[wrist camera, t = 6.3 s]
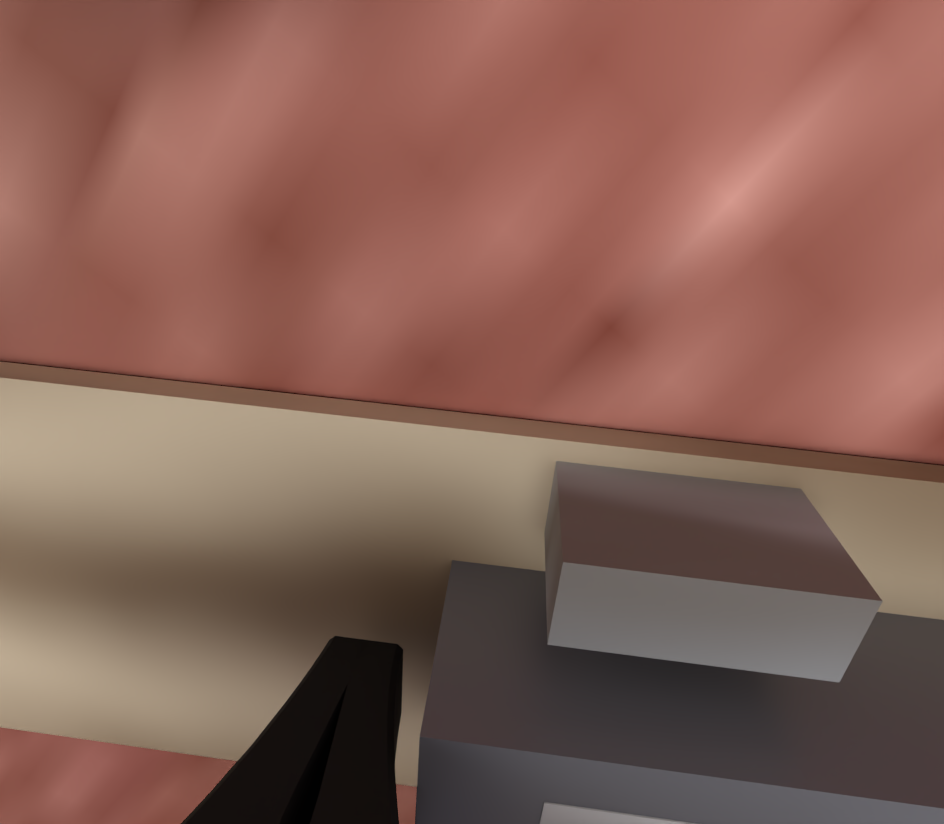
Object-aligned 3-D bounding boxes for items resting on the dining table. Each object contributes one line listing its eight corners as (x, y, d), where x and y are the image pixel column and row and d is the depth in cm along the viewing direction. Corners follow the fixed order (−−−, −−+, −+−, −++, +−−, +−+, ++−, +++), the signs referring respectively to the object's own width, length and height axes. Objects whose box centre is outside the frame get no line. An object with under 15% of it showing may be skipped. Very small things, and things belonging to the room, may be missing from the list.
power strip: (1102, 807, 12) (1298, 1043, 9) (440, 717, 13) (410, 908, 10) (1246, 656, 10) (1566, 896, 7) (452, 559, 11) (419, 738, 8)
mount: (1173, 868, 14) (1333, 1056, 11) (-137, 684, 15) (-282, 806, 13) (1564, 534, 9) (1998, 709, 7) (-349, 322, 11) (-647, 391, 8)
